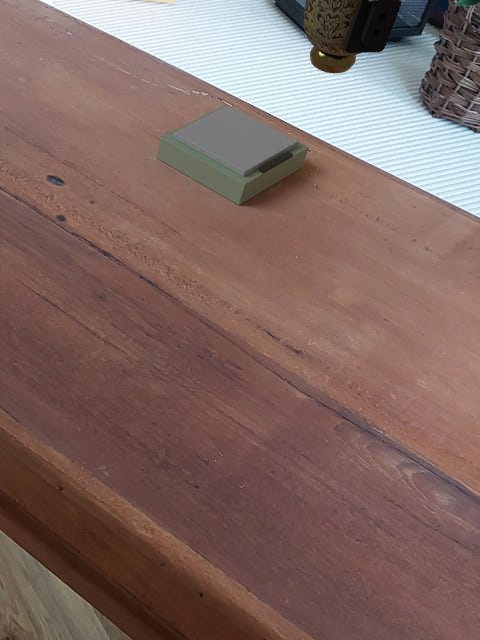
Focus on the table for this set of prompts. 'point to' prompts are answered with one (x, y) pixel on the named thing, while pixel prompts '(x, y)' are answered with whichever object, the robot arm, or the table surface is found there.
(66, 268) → the table surface
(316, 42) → the cup
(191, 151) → the scale
